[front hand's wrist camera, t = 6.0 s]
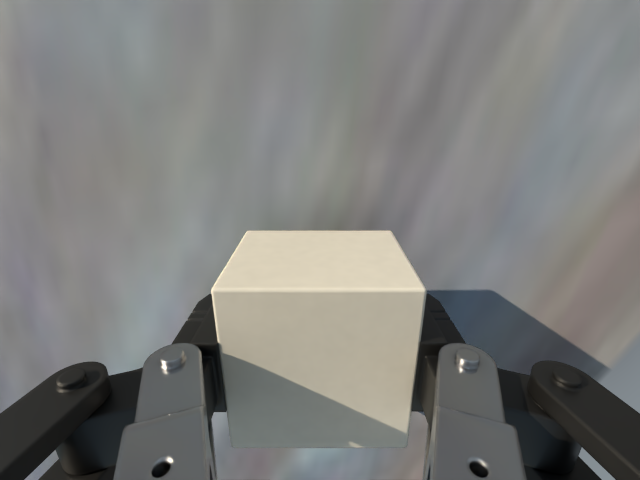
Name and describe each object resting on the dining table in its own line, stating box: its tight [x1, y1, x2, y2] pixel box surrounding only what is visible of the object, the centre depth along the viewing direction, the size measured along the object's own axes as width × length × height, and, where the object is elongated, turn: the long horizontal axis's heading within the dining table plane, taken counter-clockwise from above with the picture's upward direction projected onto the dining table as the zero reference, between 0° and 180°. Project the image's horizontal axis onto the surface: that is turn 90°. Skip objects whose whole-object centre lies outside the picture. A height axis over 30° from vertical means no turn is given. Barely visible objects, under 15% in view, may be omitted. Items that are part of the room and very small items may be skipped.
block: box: [211, 231, 427, 448], centre depth 11 cm, size 5×5×4 cm
